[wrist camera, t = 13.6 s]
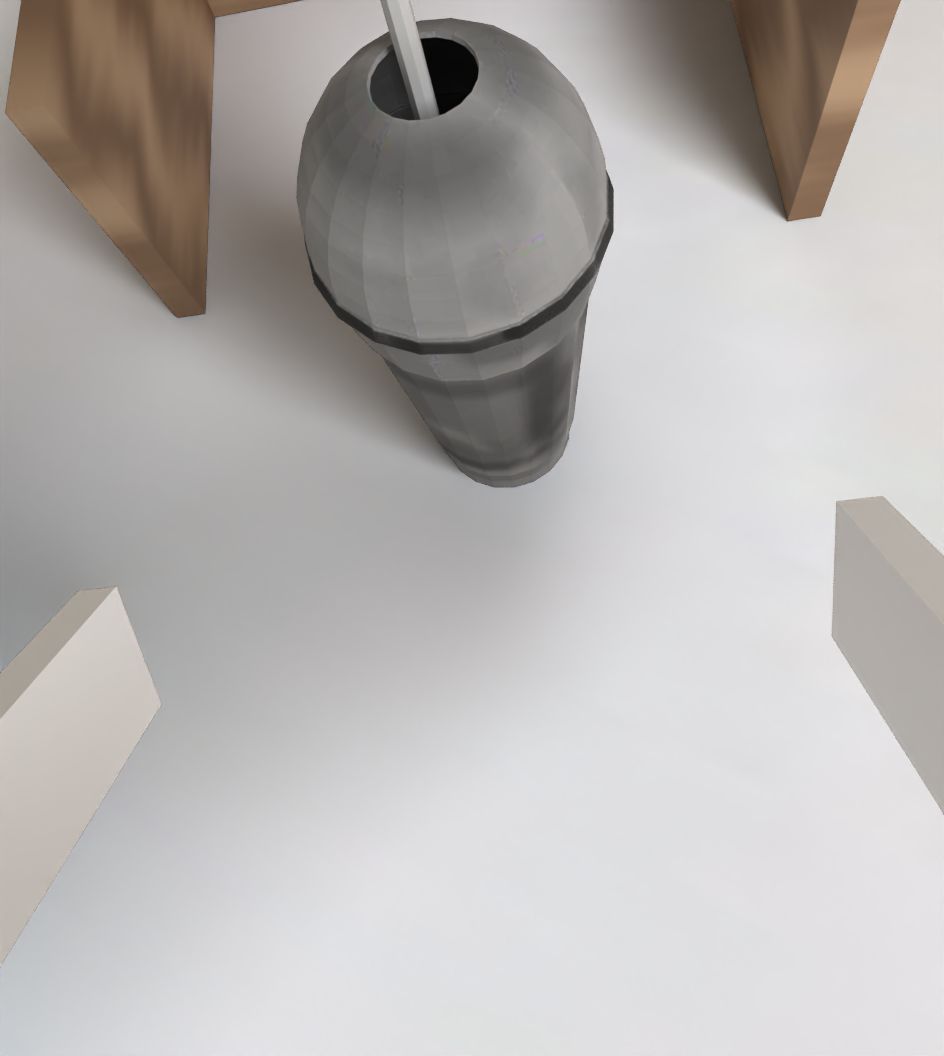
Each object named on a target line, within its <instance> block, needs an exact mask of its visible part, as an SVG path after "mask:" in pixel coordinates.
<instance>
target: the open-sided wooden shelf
mask: <svg viewBox="0 0 944 1056" xmlns="http://www.w3.org/2000/svg"><path fill="white" fill-rule="evenodd" d="M294 1H299V0H21V6H20V13H19V20H18V27H17V34H16V41H15V48H14V55H13V62H12V69H11V76H10V83H9V90H8V97H7V104H6V111H5V113H6V115H7V116H8V117H9V118H10V119H11V121H12V122H13V123H14V124H15V125H16V127H17V128H18V129H19V130H20V131H21V133H22V134H23V135H24V136H25V137H26V138H27V140H28V141H29V142H30V143H31V144H32V146H33V147H34V148H35V149H36V150H37V152H38V153H39V154H40V155H41V156H42V158H43V159H44V160H45V161H46V162H47V163H48V165H49V166H50V167H51V168H52V169H53V171H54V172H55V173H56V174H57V175H58V177H59V178H60V179H61V180H62V181H63V183H64V184H65V185H66V186H67V187H68V189H69V190H70V191H71V192H72V193H73V194H74V196H75V197H76V198H77V199H78V200H79V202H80V203H81V204H82V205H83V206H84V208H85V209H86V210H87V211H88V212H89V214H90V215H91V216H92V217H93V218H94V219H95V221H96V222H97V223H98V224H99V225H100V227H101V228H102V229H103V230H104V231H105V233H106V234H107V235H108V236H109V237H110V239H111V240H112V241H113V242H114V243H115V244H116V246H117V247H118V248H119V249H120V250H121V252H122V253H123V254H124V255H125V256H126V258H127V259H128V260H129V261H130V262H131V264H132V265H133V266H134V267H135V268H136V270H137V271H138V272H139V273H140V274H141V275H142V277H143V278H144V279H145V280H146V281H147V283H148V284H149V285H150V286H151V287H152V289H153V290H154V291H155V292H156V293H157V295H158V296H159V297H160V298H161V299H162V300H163V302H164V303H165V304H166V305H167V306H168V308H169V309H170V310H171V311H172V312H173V314H174V315H175V316H176V317H177V318H180V317H186V316H192V315H198V314H205V304H206V274H207V244H208V214H209V184H210V154H211V124H212V94H213V64H214V34H215V17H218V16H224V15H229V14H234V13H239V12H244V11H249V10H254V9H259V8H264V7H269V6H274V5H279V4H284V3H289V2H294ZM900 1H901V0H731V4H732V8H733V12H734V15H735V19H736V23H737V27H738V31H739V35H740V39H741V43H742V46H743V50H744V54H745V58H746V62H747V66H748V70H749V73H750V77H751V81H752V85H753V89H754V93H755V97H756V100H757V104H758V108H759V112H760V116H761V120H762V124H763V127H764V131H765V135H766V139H767V143H768V147H769V151H770V154H771V158H772V162H773V166H774V170H775V174H776V178H777V182H778V185H779V189H780V193H781V197H782V201H783V205H784V209H785V212H786V216H787V220H788V221H792V220H799V219H805V218H811V217H818V216H821V214H822V211H823V208H824V206H825V203H826V200H827V198H828V195H829V192H830V190H831V187H832V184H833V181H834V179H835V176H836V173H837V171H838V168H839V165H840V163H841V160H842V157H843V155H844V152H845V149H846V146H847V144H848V141H849V138H850V136H851V133H852V130H853V128H854V125H855V122H856V119H857V117H858V114H859V111H860V109H861V106H862V103H863V101H864V98H865V95H866V93H867V90H868V87H869V84H870V82H871V79H872V76H873V74H874V71H875V68H876V66H877V63H878V60H879V57H880V55H881V52H882V49H883V47H884V44H885V41H886V39H887V36H888V33H889V31H890V28H891V25H892V22H893V20H894V17H895V14H896V12H897V9H898V6H899V4H900Z"/></svg>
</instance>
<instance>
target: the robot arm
mask: <svg viewBox="0 0 944 1056" xmlns="http://www.w3.org/2000/svg"><path fill="white" fill-rule="evenodd" d="M832 638H833V639H834V641H835V642H836V644H837V646H838V647H839V649H840V650H841V652H842V654H843V655H844V657H845V658H846V660H847V661H848V663H849V665H850V666H851V668H852V669H853V671H854V673H855V674H856V676H857V677H858V679H859V681H860V682H861V684H862V685H863V687H864V688H865V690H866V692H867V693H868V695H869V696H870V698H871V700H872V701H873V703H874V704H875V706H876V707H877V709H878V711H879V712H880V714H881V715H882V717H883V719H884V720H885V722H886V723H887V725H888V726H889V728H890V730H891V731H892V733H893V734H894V736H895V738H896V739H897V741H898V742H899V744H900V745H901V747H902V749H903V750H904V752H905V753H906V755H907V757H908V758H909V760H910V761H911V763H912V765H913V766H914V768H915V769H916V771H917V772H918V774H919V776H920V777H921V779H922V780H923V782H924V784H925V785H926V787H927V788H928V790H929V791H930V793H931V795H932V796H933V798H934V799H935V801H936V803H937V804H938V806H939V807H940V809H941V810H942V812H943V814H944V556H943V555H942V554H941V553H940V552H939V551H938V550H937V549H936V548H935V547H934V546H933V545H932V544H931V543H930V542H929V541H928V540H927V539H926V538H925V537H924V536H923V535H922V534H921V533H920V532H919V531H918V530H917V529H916V528H915V527H914V526H913V525H912V524H911V523H910V522H909V521H908V520H907V519H906V518H905V517H904V516H903V515H901V514H900V513H899V512H898V511H897V510H896V509H895V508H894V507H893V506H892V505H891V504H890V503H889V502H888V501H887V500H886V499H885V498H884V497H883V496H878V497H870V498H862V499H853V500H845V501H836V526H835V555H834V583H833V612H832ZM160 706H161V702H160V699H159V696H158V694H157V691H156V689H155V686H154V683H153V681H152V678H151V676H150V673H149V670H148V668H147V665H146V663H145V660H144V657H143V655H142V652H141V650H140V647H139V644H138V642H137V639H136V637H135V634H134V631H133V629H132V626H131V623H130V621H129V618H128V616H127V613H126V610H125V608H124V605H123V603H122V600H121V597H120V595H119V592H118V590H117V587H116V586H115V587H107V588H98V589H90V590H81V591H78V592H77V593H76V594H75V595H74V596H73V597H72V598H71V599H70V600H69V601H68V602H67V603H66V604H65V605H64V606H63V607H62V608H61V610H60V611H59V612H58V613H57V614H56V615H55V616H54V617H53V618H52V619H51V620H50V621H49V622H48V623H47V624H46V625H45V626H44V627H43V629H42V630H41V631H40V632H39V633H38V634H37V635H36V636H35V637H34V638H33V639H32V640H31V641H30V642H29V643H28V644H27V645H26V646H25V648H24V649H23V650H22V651H21V652H20V653H19V654H18V655H17V656H16V657H15V658H14V659H13V660H12V661H11V662H10V663H9V664H8V665H7V667H6V668H5V669H4V670H3V671H2V672H1V673H0V966H1V965H2V963H3V961H4V960H5V958H6V957H7V955H8V953H9V952H10V950H11V948H12V947H13V945H14V944H15V942H16V940H17V939H18V937H19V935H20V934H21V932H22V931H23V929H24V927H25V926H26V924H27V922H28V921H29V919H30V918H31V916H32V914H33V913H34V911H35V909H36V908H37V906H38V905H39V903H40V901H41V900H42V898H43V896H44V895H45V893H46V891H47V890H48V888H49V887H50V885H51V883H52V882H53V880H54V878H55V877H56V875H57V874H58V872H59V870H60V869H61V867H62V865H63V864H64V862H65V861H66V859H67V857H68V856H69V854H70V852H71V851H72V849H73V848H74V846H75V844H76V843H77V841H78V839H79V838H80V836H81V835H82V833H83V831H84V830H85V828H86V826H87V825H88V823H89V822H90V820H91V818H92V817H93V815H94V813H95V812H96V810H97V809H98V807H99V805H100V804H101V802H102V800H103V799H104V797H105V795H106V794H107V792H108V791H109V789H110V787H111V786H112V784H113V782H114V781H115V779H116V778H117V776H118V774H119V773H120V771H121V769H122V768H123V766H124V765H125V763H126V761H127V760H128V758H129V756H130V755H131V753H132V752H133V750H134V748H135V747H136V745H137V743H138V742H139V740H140V739H141V737H142V735H143V734H144V732H145V730H146V729H147V727H148V726H149V724H150V722H151V721H152V719H153V717H154V716H155V714H156V712H157V711H158V709H159V708H160Z"/></svg>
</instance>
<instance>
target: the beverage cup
mask: <svg viewBox="0 0 944 1056" xmlns="http://www.w3.org/2000/svg"><path fill="white" fill-rule="evenodd" d="M380 1H381V4H382V8H383V11H384V15H385V18H386V21H387V25H388V28H389V32H387V33H385V34H384V35H382V36H380V37H379V38H377V39H375V40H374V41H372V42H371V43H369V44H367V45H366V46H364V47H363V48H361V49H360V50H359V51H358V52H357V53H356V54H355V55H354V56H353V57H352V58H351V59H350V60H349V61H348V62H347V63H346V64H345V65H344V66H343V67H342V68H341V69H340V70H339V71H338V72H337V73H336V74H335V75H334V76H333V77H332V78H331V80H330V82H329V84H328V85H327V87H326V89H325V91H324V93H323V95H322V97H321V98H320V100H319V102H318V104H317V106H316V108H315V110H314V112H313V114H312V116H311V117H310V119H309V121H308V123H307V127H306V130H305V134H304V138H303V142H302V149H301V156H300V163H299V169H298V176H297V203H298V208H299V214H300V219H301V223H302V227H303V232H304V238H305V246H306V250H307V254H308V259H309V263H310V267H311V271H312V276H313V280H314V284H315V286H316V287H317V288H318V290H319V291H320V293H321V294H322V295H323V297H324V298H325V300H326V301H327V303H328V304H329V305H330V307H331V308H332V310H333V311H334V312H335V314H336V315H337V317H338V318H339V319H341V320H342V321H344V322H345V323H347V324H348V325H350V326H351V327H352V328H353V329H354V331H355V332H356V333H357V334H358V335H359V336H360V337H361V338H362V339H363V340H364V341H365V342H366V343H367V344H368V345H369V346H370V347H371V348H372V349H373V350H374V351H376V352H377V353H379V354H380V355H381V356H382V357H383V359H384V360H385V362H386V363H387V365H388V366H389V368H390V369H391V371H392V372H393V374H394V375H395V377H396V378H397V380H398V381H399V383H400V384H401V386H402V387H403V389H404V390H405V392H406V394H407V395H408V397H409V398H410V400H411V401H412V403H413V404H414V406H415V407H416V409H417V410H418V412H419V413H420V415H421V416H422V418H423V419H424V421H425V422H426V424H427V425H428V427H429V428H430V430H431V431H432V433H433V434H434V436H435V437H436V439H437V440H438V442H439V443H440V444H441V446H442V447H443V449H444V450H445V451H446V453H447V454H448V456H449V457H450V458H452V459H453V460H454V462H455V463H456V465H457V466H458V467H459V469H460V470H461V471H462V472H463V473H465V474H466V475H467V476H469V477H470V478H472V479H473V480H475V481H476V482H479V483H482V484H485V485H489V486H492V487H517V486H520V485H524V484H527V483H530V482H534V481H535V480H537V479H538V478H540V477H541V476H543V475H544V474H546V473H547V472H549V471H550V470H551V469H552V468H553V466H554V465H555V464H556V463H557V461H558V460H559V459H560V458H561V457H562V455H563V452H564V450H565V447H566V444H567V442H568V439H569V430H570V427H571V424H572V421H573V417H574V410H575V402H576V394H577V386H578V378H579V370H580V362H581V354H582V347H583V339H584V331H585V323H586V315H587V307H588V299H589V296H590V294H591V291H592V289H593V286H594V284H595V281H596V278H597V275H598V272H599V268H600V265H601V262H602V259H603V257H604V254H605V252H606V249H607V246H608V244H609V241H610V239H611V236H612V234H613V187H612V184H611V181H610V178H609V176H608V173H607V171H606V166H605V158H604V155H603V152H602V148H601V145H600V142H599V139H598V136H597V134H596V132H595V129H594V127H593V124H592V122H591V120H590V117H589V115H588V112H587V110H586V108H585V105H584V103H583V101H582V100H581V98H580V96H579V94H578V92H577V91H576V89H575V87H574V86H573V85H572V84H571V83H570V82H569V81H568V80H567V79H566V78H565V77H564V75H563V74H562V73H561V72H560V71H559V70H558V69H557V68H556V67H555V66H554V65H553V64H552V63H551V62H550V61H549V60H548V59H547V58H546V57H545V56H544V55H543V54H542V53H541V52H540V51H539V50H538V49H537V48H535V47H534V46H532V45H530V44H529V43H527V42H526V41H524V40H522V39H520V38H518V37H516V36H514V35H512V34H510V33H508V32H506V31H504V30H502V29H500V28H497V27H495V26H493V25H488V24H483V23H477V22H471V21H465V20H459V19H453V18H447V19H436V20H424V21H418V22H415V18H414V14H413V10H412V6H411V3H410V0H380Z"/></svg>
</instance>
